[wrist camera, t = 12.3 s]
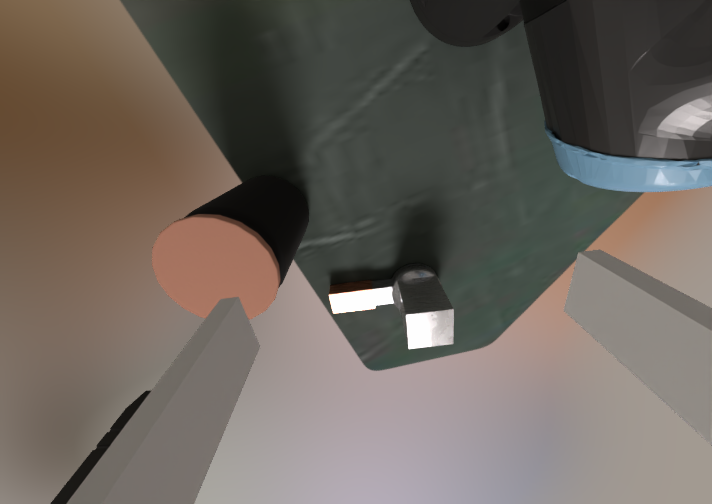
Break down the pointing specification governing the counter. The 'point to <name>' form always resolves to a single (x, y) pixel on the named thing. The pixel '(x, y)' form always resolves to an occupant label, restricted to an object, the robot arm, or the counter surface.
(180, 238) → the coffee jar
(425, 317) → the silver metal block
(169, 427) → the robot arm
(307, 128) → the counter surface
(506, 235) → the counter surface
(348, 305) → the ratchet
